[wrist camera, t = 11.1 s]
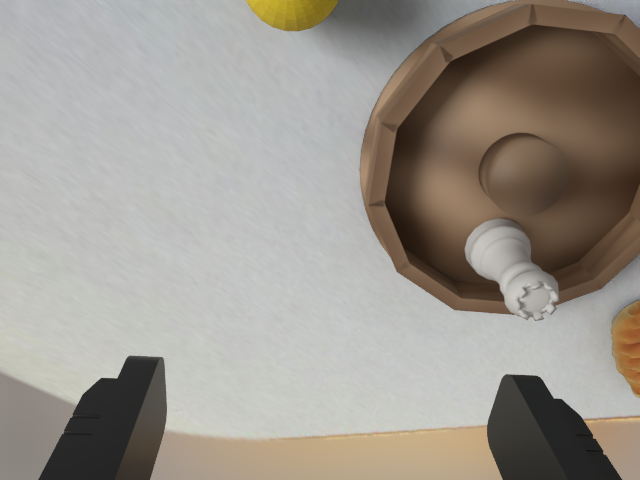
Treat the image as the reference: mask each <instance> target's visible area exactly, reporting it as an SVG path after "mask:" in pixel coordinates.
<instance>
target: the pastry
mask: <svg viewBox="0 0 640 480" xmlns="http://www.w3.org/2000/svg"><path fill="white" fill-rule="evenodd" d="M611 334H612V340H613V343H612V355H613V357H614V359H615V363H616V368H617V370H618V372H619V373H621V374H622V375H623V376H624V378H625V379H626V381H627V382H628V383H629V385H630V386H631V389H632V392H633V394H634V395H635V396H637V397H639V398H640V300H637V301H635V302H634V303H632V304H630V305H628V306H627V307H625V308H624V309H622V310H621V311H620V312H619V313H618V314H617V315H616V317H615V318H614V319H613V321H612V328H611Z"/></svg>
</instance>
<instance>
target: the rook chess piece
mask: <svg viewBox="0 0 640 480" xmlns="http://www.w3.org/2000/svg"><path fill="white" fill-rule="evenodd" d="M465 254H466V260H467V261H468V262H469V264H470V265H471V267H472V268H473V269H474V270H475V271H476V273H478V274H479V275H481V276H483V277H485V278H487V279H488V280H493V281H497V282H498V283H499V284H500V291H501V292H502V294H503V295H504V299H505V305H506V307H507V308H508V309H509V311H510V312H511V313H513V314H515V315H517V316H521V317H522V318H524V319H526V320H528V318H529V317H533V318H534V320H535V321H537V320H542V319H544V318H543V316H542V314H543V313H545V312H546V311H548V312H549V313H550V314H552V313H553V312H554V311H555V310H556V309H557V308H556V307H555V306H554V305H553V304H554V303H555V302H559V294H558V293H559V291H558V283H557V281H556V280H555V278H554V277H553V276H552V275H550V274H548V273H546V272H544V271H542V269H541V268H540V267H539V266H537V265H536V264H534V263H532V261H531V259H530V258H531V257H530V255H531V245H530V240H529V238H528V237H527V235H526V234H525V232H524V231H523V229H522V228H521V226H520V225H518V224H517V223H515V222H513V221H511V220H507V219H499V218H498V219H494V220H490V221H486V222H484V223H483V224H481V225H480V226H478V227H477V228H475V229H474V231H473V232H472V233H471V235H470V236H469V237H468V239H467V242H466V246H465Z"/></svg>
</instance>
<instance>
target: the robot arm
mask: <svg viewBox="0 0 640 480" xmlns="http://www.w3.org/2000/svg"><path fill="white" fill-rule="evenodd" d="M166 414H167V402H166V384H165V366H164V359H163V358H162V357H147V356H129V357H128V358H127V359H126V361H125V363H124V365H123V368H122V370H121V372H120V374H119V376H118V378H117V379H115V378H101V379H100V380H99V381H97V382H96V383H95V384H94V385H93V386H92V387H91V388H90V389H88V390H87V391H86V392H85V393H84V394H83V395H82V397H81V399H80V401H79V403H78V405H77V407H76V409H75V411H74V413H73V417H72V418H70V420H69V422H68V424H67V426H66V428H65V430H64V434H62V436H61V437H60V439H59V442H58V443H57V445H56V447H55V449H54V451H53V453H52V455H51V457H50V459H49V460H48V462H47V464H46V466H45V468H44V470H43V472H42V474H41V476H40V478H39V479H38V480H150V477H151V474H152V471H153V467H154V464H155V461H156V458H157V454H158V451H159V447H160V444H161V440H162V437H163V434H164V429H165V423H166ZM487 436H488V442H489V446H490V449H491V452H492V454H493V457H494V459H495V462H496V464H497V466H498V469H499V471H500V474H501V476H502V479H503V480H622V479H621V477H620V476H619V474H618V473H617V471H616V470H615V468H614V467H613V465H612V464H611V462H610V461H609V459H608V457H607V456H606V455H604V454H603V450H602V448H601V447H600V445H599V444H598V442H597V441H596V439H593V434H592V433H591V431H590V430H589V428H588V427H587V425H586V424H585V422H584V421H583V419H582V417H581V416H580V415H579V414H578V413H577V412H575V411H574V410H573V409H572V408H571V407H570V406H569V405H567V404H566V403H565V402H564V401H563V400H562V399H554V398H553V397H552V395H551V393H550V392H549V390H548V388H547V387H546V385H545V383H544V382H543V380H542V379H541V378H540V377H538V376H530V375H509V374H507V375H505V376H504V377H503V378H502V380H501V382H500V386H499V389H498V392H497V395H496V398H495V401H494V404H493V407H492V410H491V414H490V417H489V420H488V425H487Z"/></svg>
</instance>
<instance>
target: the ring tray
mask: <svg viewBox="0 0 640 480" xmlns="http://www.w3.org/2000/svg"><path fill="white" fill-rule="evenodd" d="M360 181H361V191H362V196H363V201H364V206H365V209H366V212H367V215H368V218H369V221H370V224H371V226H372V229H373V231H374V233H375V234H376V236H377V238H378V240H379V242H380V244H381V245H382V246H383V248H384V249H385V250H386V252H387V253H388V255H389V256H390V257H391V259H392V261H393V264H394V266H395V268H396V271H397V272H398V273H400V274H401V275H403V276H404V277H406V278H407V279H409V280H410V281H412V282H413V283H415V284H416V285H418V286H419V287H421V288H422V289H424V290H425V291H427V292H428V293H430V294H431V295H433V296H434V297H436V298H437V299H439V300H440V301H442V302H443V303H445V304H446V305H448V306H449V307H451V308H452V309H454V310H461V311H474V312H486V313H499V314H512V315H515V314H513V313H511V312H510V311H509V309H508V308H507V307H506V305H505V299H504V295H503V294H502V292H501V291H500V284H499V283H498V282H497V281H493V280H488V279H487V278H485V277H483V276H481V275H479V274H478V273H476V271H475V270H474V269H473V268H472V267H471V265H470V264H469V262H468V261H467V260H466V254H465V246H466V242H467V239H468V237H469V236H470V235H471V233H472V232H473V231H474V229H475V228H477V227H478V226H480V225H481V224H483V223H484V222H486V221H490V220H494V219H498V218H499V219H507V220H511V221H513V222H515V223H517V224H518V225H520V226H521V228H522V229H523V231H524V232H525V234H526V235H527V237H528V238H529V240H530V245H531V255H530V257H531V258H530V259H531V261H532V263H534V264H536V265H537V266H539V267H540V268H541V269H542V271H544V272H546V273H548V274H550V275H552V276H553V277H554V278H555V280H556V281H557V283H558V291H559V293H558V294H559V302H555V303H554V304H553V305H554V306H555V305H558V304H561V303H563V302H566V301H569V300H572V299H574V298H577V297H580V296H583V295H585V294H588V293H591V292H594V291H596V290H599V289H601V288H602V287H604V286H605V285H606V284H607V283H608V282H609V281H610V280H611V279H612V278H613V277H614V276H616V275H617V274H618V273H619V272H620V271H621V270H622V269H623V268H624V267H625V266H626V265H628V264H629V263H630V262H631V261H632V260H633V259H634V258H635V257H636V256H637V255H638V254H639V253H640V29H639V28H638V27H637V26H636V25H635V24H634V23H633V22H632V21H631V20H630V19H629V18H628V17H627V16H626V15H619V14H611V13H605V12H603V11H600V10H598V9H595V8H592V7H590V6H587V5H584V4H580V3H575V2H570V1H565V0H516V1H508V2H504V3H500V4H496V5H492V6H488V7H485V8H482V9H480V10H477V11H475V12H472V13H469V14H467V15H465V16H463V17H461V18H459V19H457V20H455V21H454V22H452V23H450V24H448V25H446V26H445V27H443V28H442V29H440V30H439V31H438V32H436V33H435V34H433V35H432V36H431V37H429V38H428V39H426V40H425V41H424V42H423V43H422V44H421V45H420V46H419V47H418V48H417V49H416V50H414V51H413V52H412V53H411V54H410V55H409V56H408V57H407V58H406V60H405V61H404V62H403V63H402V64H401V65H400V67H399V68H398V69H397V70H396V71H395V72H394V74H393V75H392V77H391V78H390V80H389V81H388V83H387V85H386V86H385V88H384V89H383V91H382V92H381V94H380V96H379V98H378V100H377V102H376V104H375V106H374V108H373V110H372V113H371V116H370V119H369V122H368V125H367V127H366V130H365V135H364V140H363V144H362V149H361V161H360Z"/></svg>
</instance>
